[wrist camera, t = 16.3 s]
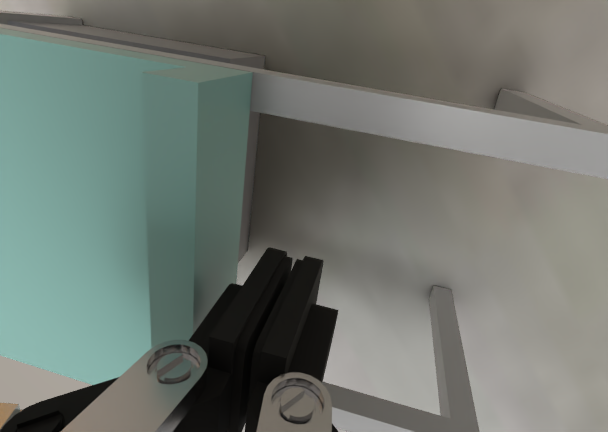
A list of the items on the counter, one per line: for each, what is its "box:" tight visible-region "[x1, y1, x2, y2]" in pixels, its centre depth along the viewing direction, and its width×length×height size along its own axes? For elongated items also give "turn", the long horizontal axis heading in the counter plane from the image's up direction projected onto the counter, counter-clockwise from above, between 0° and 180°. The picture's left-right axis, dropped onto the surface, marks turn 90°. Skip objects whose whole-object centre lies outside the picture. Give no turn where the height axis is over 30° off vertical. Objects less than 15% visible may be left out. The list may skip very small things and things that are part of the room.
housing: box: [0, 11, 608, 432], centre depth 18 cm, size 12×24×10 cm, turn 82°
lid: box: [0, 28, 253, 385], centre depth 12 cm, size 12×12×3 cm
